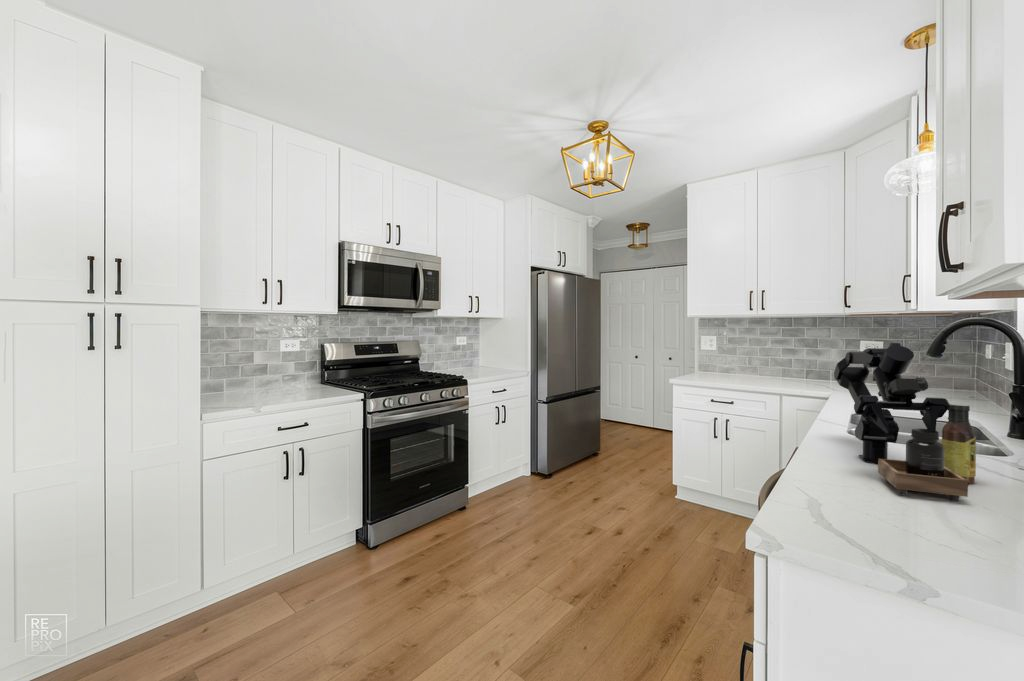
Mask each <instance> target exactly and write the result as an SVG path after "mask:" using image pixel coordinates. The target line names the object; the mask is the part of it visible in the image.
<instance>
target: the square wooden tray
mask: <svg viewBox="0 0 1024 681" xmlns="http://www.w3.org/2000/svg"><path fill="white" fill-rule="evenodd" d="M877 472H878V474H880V476H882V477H883V478H884V480H885V482H886V483H889V484H890V485H892V486H893V487H894V488H895V489H896V490H897V492H898V494H899V495H901V496H907V495H908V491H914V492H923V493H931V494H938V495H947V497H948V499H949V500H950V501H952V502H959V501H960V497H965V498H968V495H969V493H968V492H969V491H968V490H969V486H968V485H969V483H968V480H966V479H964V478H963V477H961V476H960V475H958V474H956V473H955V472H953V471H952V470H950V469H948V468H947V467H945V466H944V477H936V476H926V475H916V474H906V460H899V459H889V458H887V459H879V458H878V463H877Z"/></svg>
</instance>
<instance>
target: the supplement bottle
mask: <svg viewBox="0 0 1024 681" xmlns="http://www.w3.org/2000/svg"><path fill="white" fill-rule="evenodd" d="M939 434H940V432H939V431H937V430H936V431H934V430H929V429H927V428H917V427H916V428H912V429H911V435H910V437H911V438H910V439H908V440H906V443H905V461H906V474H916V475H926V476H936V477H944V446H943V445H942V442H939V441H940V435H939Z"/></svg>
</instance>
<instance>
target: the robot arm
mask: <svg viewBox="0 0 1024 681" xmlns="http://www.w3.org/2000/svg"><path fill="white" fill-rule="evenodd" d="M914 356H915V353H914V351H912V350H911V349H910V348H908V347H907V346H906V347H905V346H903V345H901V343H900V342H890V344H889V346H887V348H885V347H884V348H883V347H882V348H881V347H874V348H872V347H871V348H866V349H864V350H862V351H848V352H846V354H845V356H844V357H843V358H842V359H841V360H840V361H838V362H837V363H836V366H835V369H834V372H833V377H834V378H833V379H834V380H836V382H837V383H838V385H839V386H840V387H842V388H844V389H846V390H848V392H849V394H850V396H851V398H852V400H853V402H854V404H853V409H854V413H855V414H856V415H859V416H860V419H859V421H858V423H857V425H856V427H855V429H854V435H855V438H856V439H858V440H859V441H862V454H858V457H859V458H860V459H861V461H863V462H866V463H874V464H878V458H879V459H888V455H889V454H888V453H889V452H888V449H889V448H888V446H889V444H888V443H894V444H895V443H897V441H898V436H899V431H900V427H899V424H898V423H897V421H895V417H894V416H893V414H892V412H891V411H890V410H893V411H894V410H895V411H913V412H917V411H918V412H920V415H921V416H922V417H921V420H922V422H923V424H924V425H925V429H929V430H934V431H937V420H938V419H939V418H942V417H943V416H945V414H946V413H947V412H948V409H949V407H950V402H949V400H948V399H947V398H943V397H925V398H924V400H923V402H913V400H916V398H917V395H916V394H917V393H920V392H924V391H926V390H928V389H929V384H928V381H927V379H926V378H925V377H921V376H920V377H918V376H917V377H915V378H903V377H902V375H901V374H904V373H906V371H907V369H908V368H909V366H910V364H911V362H912V361H913V359H914ZM851 364H852V365H853V364H854V365H855V364H857V365H860V364H861V365H863V366H850V365H851ZM870 368H872V369H874V370H873V371H872V375H873V376H872V381H873V382H875V383H876V385H877V389H878V390H879V391H878V392H877V394H878V396H877V395H872V393H871V392H870V390H869V388H868V387H867V385H866V381H867V379H868V376H869V375H870V374H869V373H870ZM879 397H881V399H882V400H879Z"/></svg>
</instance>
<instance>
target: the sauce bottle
mask: <svg viewBox="0 0 1024 681" xmlns="http://www.w3.org/2000/svg"><path fill="white" fill-rule="evenodd" d="M949 404H950V407H949V409H948V410H947V413H948V417H947V420H948V421H947V422H946V423H945V425H944V426H943V427H942V429H941V434H942V435H941V444H942V445H943V446H944V466H945V467H947V468H948V469H950V470H952V471H953V472H955V473H956V474H958V475H960V476H961V477H963V478H964V479H966V480H968V484H973V483H975V482H976V478H975V477H976V474H977V473H976V470H977V468H976V466H977V464H976V462H977V440H976V439H977V435H976V434H975V431H974V429H973V427H972V425H971V423H970V420H969V415H970V410H971V408H970V407H971V406H970V405H969V404H964V403H955V402H954V403H953V402H951V403H950V402H949Z"/></svg>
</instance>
